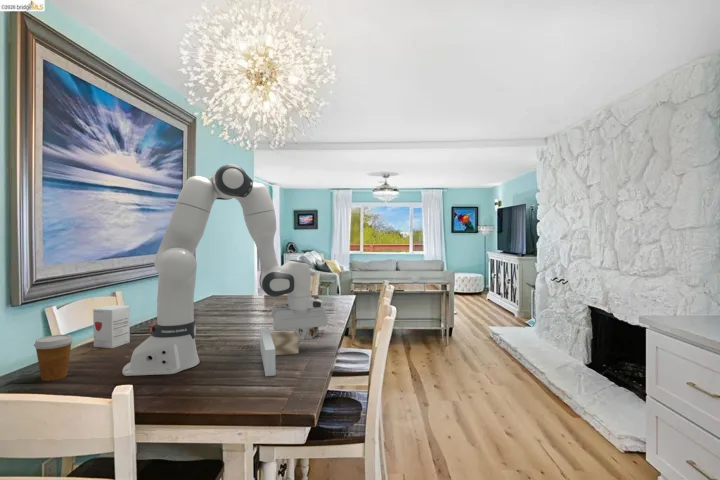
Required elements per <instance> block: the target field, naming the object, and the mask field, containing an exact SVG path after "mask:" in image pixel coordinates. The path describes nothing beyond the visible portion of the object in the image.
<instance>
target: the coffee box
mask: <svg viewBox="0 0 720 480" xmlns="http://www.w3.org/2000/svg"><path fill="white" fill-rule="evenodd" d="M311 297H312V298H316V299H319V296H311ZM297 332H298V331H297ZM298 333H299V335H302V333H303V330H302V328H301V329H299V332H298ZM318 335H319V327H311V328H307V332H306V334H305V335H304V340H305V339H307V340H312V339H314V338H315V337H316V336H318Z"/></svg>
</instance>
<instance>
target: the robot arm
mask: <svg viewBox="0 0 720 480" xmlns="http://www.w3.org/2000/svg"><path fill="white" fill-rule="evenodd" d="M232 199H235V200H237V201H238V202H239V204H240V206H241V209H242V215H243V216H244V217H243V218H244V223H245V225H246V228H247V231H248V233H249V234H250V235H249V236H250V237H251V238H252V241H253V242H254V244H255V246H256V249H257V254H258V259H259V263H260V267H261V268H260V269H261V270H260V273H259V286H260V288H261V289H262V290H263V292H264V293H265V294H266V295H267V296H269V297H272V298H277V297H280V296H285V295H287V303H285V304H284V303H282V304H276V305H275V306H273V307H272V308H271V316H272V329H273V330H274V331H275V332H282V331H288V330H289V331H291V330H294V331H295V332H296V334H297V335H298V342H299V341H305V339H304V335H305V334H306V332H307V328H311V327H318V328H319V327H320V328H321V327H327V325H328V324H329V323H328V320H329V319H328V315H327V311H326V309H325V307H324V306H325V303H324V300H321V299H319V298H318V299H316V298H312V297H313V296H312V292H311V291H312V290H311V285H312V279H311V277H312V276H311V275H312V274H311V269H310V265H309V264H308V263H307V261H304V260H300V259H289V260H288V261H286V262H285V263H284V264H282V265H281V266H280V265H279V263H278V261H277V255H276V251H275V250H276V249H275V244H274V243H275V235H276V231H277V217H276V210H275V207H274V204H273V200H272V197H271V195H270V192H269V190H268V188H267V186H266V185H265V184H263V183H260V182H253V179H252V178H251V177H250V176H249V175H248V174H247V173H246V171H245V170H244V169H243V168H242V167H241V166H239V165H237V164H233V163H229V164H225V165H222V166H220V167H219V168H217V170H216V171H215V172H214V173H213V174H212V175H211V176H210V177H204V176H201V175H194V176H190V177H189V178H187V180H185V183H184V184H183V186H182V189H181V191H180V192H179V195H178V197H177V200H176V202H175V205H174V208H173V211H172V214H171V218H170V220H169V223H168V225H167V228H166V230H165V233H164V235H163V237H162V240H161V242H160V244H159V247H158V250H157V251H156V252H157V253H156V256H155V258H154V263H153V264H154V269H155V271H156V273H158V283H157V284H158V285H157V296H156V314H157V315H156V321H157V322H152V324H151V325H150V332H149V333H150V336H149V337H148V338H146V339H145V340H144V341H142V342H141V343H140V344H139V345H138V346H136V347H135V349H134V350H133V351H132V355H131V357H130V362H128V363H126V364H125V365H124V366H123V368H122V371H121V372H122V375H123V376H126V377H129V376H130V377H131V376H149V375H151V376H154V375H174V374H177V373H179V372H181V371H185V370H188V369H192V368H193V367H195V366H198V364H200V362H201V361H200V357H199V355H198V350H197V346H196V344H197V343H196V335H197V334H196V332H197V325H196V320H195V316H194V315H195V311H194V310H195V308H194V307H195V306H194V305H195V304H194V303H195V302H194V300H195V298H194V296H195V289H196V279H197V278H196V277H197V265H198V264H197V258H196V257H195V253H196V250H197V248H198V246H199V243H200V242H201V239H202V238H203V237H204V232H205V230H206V227H207V223H208V221H209V218H210V214H211V211H212V208H213V205H214V203H215V201H216V200H223V201H224V200H225V201H226V200H227V201H229V200H232ZM301 328H302V330H303V333H302V335H299V333H298V332H299V329H301Z"/></svg>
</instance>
